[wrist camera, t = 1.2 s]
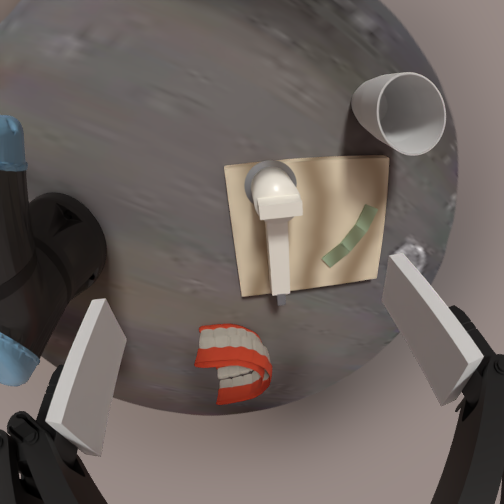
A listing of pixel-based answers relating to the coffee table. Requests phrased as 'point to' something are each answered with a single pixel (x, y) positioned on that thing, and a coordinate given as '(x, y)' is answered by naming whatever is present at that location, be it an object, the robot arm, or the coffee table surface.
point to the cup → (401, 111)
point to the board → (314, 221)
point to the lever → (276, 222)
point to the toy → (235, 361)
